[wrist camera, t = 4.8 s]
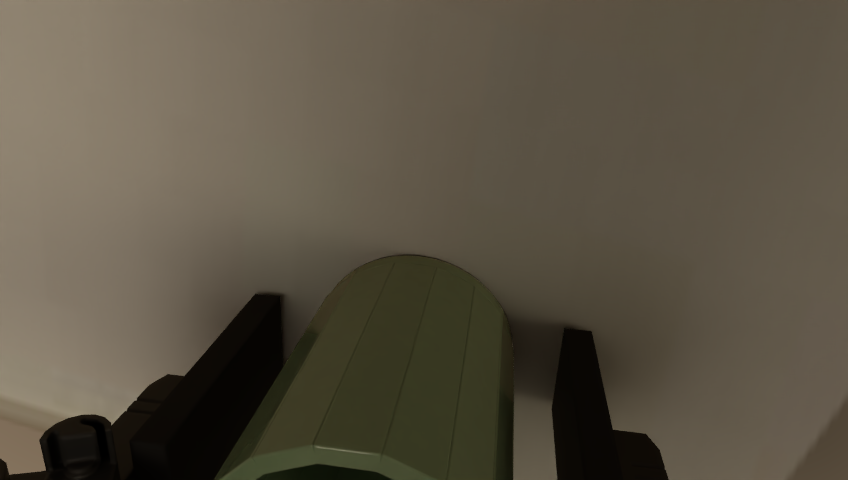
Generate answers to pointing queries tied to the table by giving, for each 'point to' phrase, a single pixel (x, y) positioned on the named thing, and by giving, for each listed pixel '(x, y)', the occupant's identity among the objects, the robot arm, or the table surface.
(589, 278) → the table surface
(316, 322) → the green cup
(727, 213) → the table surface
